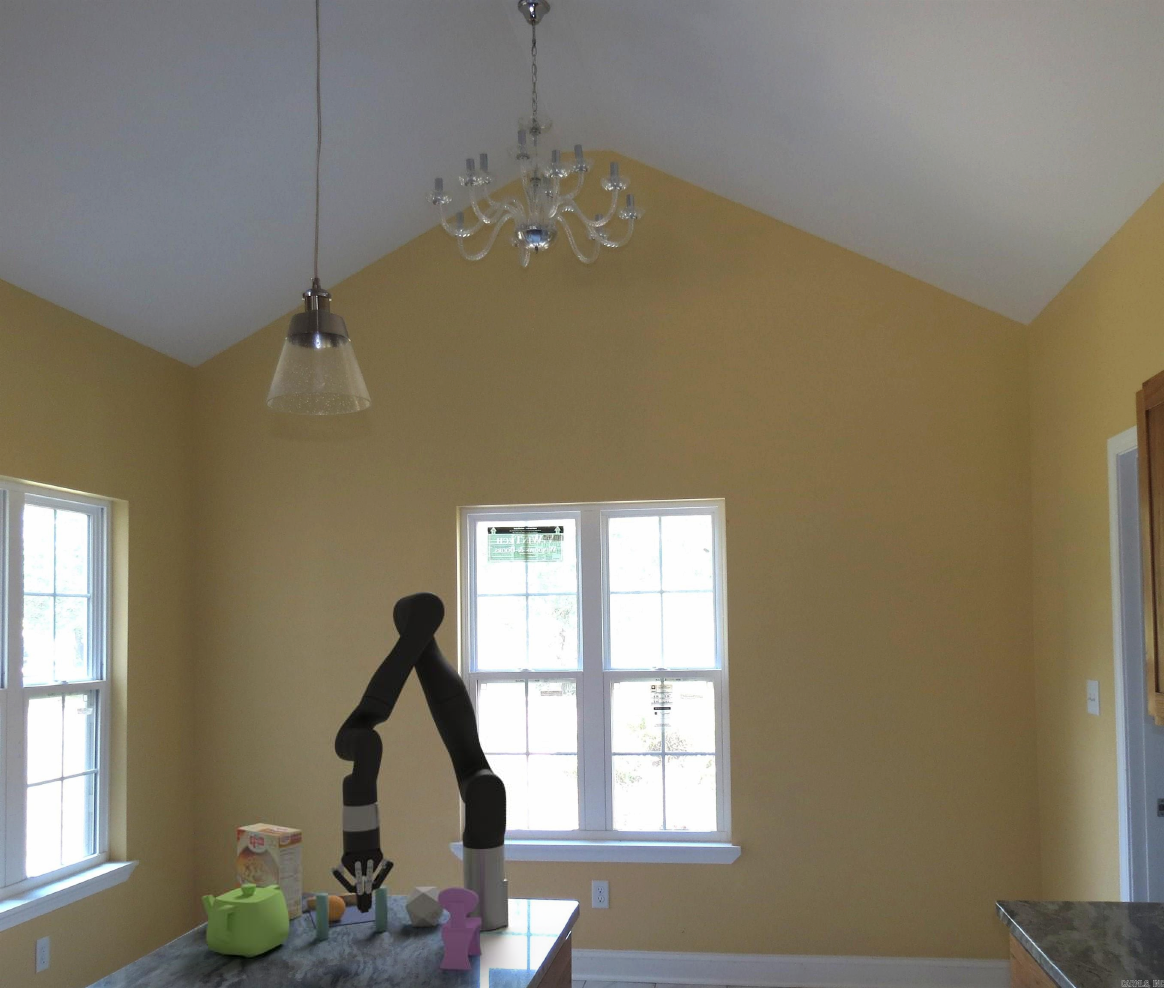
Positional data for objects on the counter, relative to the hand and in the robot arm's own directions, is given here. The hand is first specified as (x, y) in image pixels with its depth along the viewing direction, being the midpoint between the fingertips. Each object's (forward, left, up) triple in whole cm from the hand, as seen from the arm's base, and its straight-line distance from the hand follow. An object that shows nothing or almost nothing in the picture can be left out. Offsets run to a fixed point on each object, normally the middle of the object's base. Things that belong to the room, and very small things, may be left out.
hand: (364, 911), depth 211 cm
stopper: (+1, -36, -8) cm, 37 cm away
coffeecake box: (+17, -36, -9) cm, 40 cm away
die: (-15, -14, -9) cm, 22 cm away
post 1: (+7, -14, -8) cm, 18 cm away
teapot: (+24, -15, -9) cm, 29 cm away
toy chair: (-17, +12, -9) cm, 23 cm away
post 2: (-6, -14, -8) cm, 17 cm away
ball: (+3, -25, -6) cm, 25 cm away
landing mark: (+1, -28, -8) cm, 29 cm away
